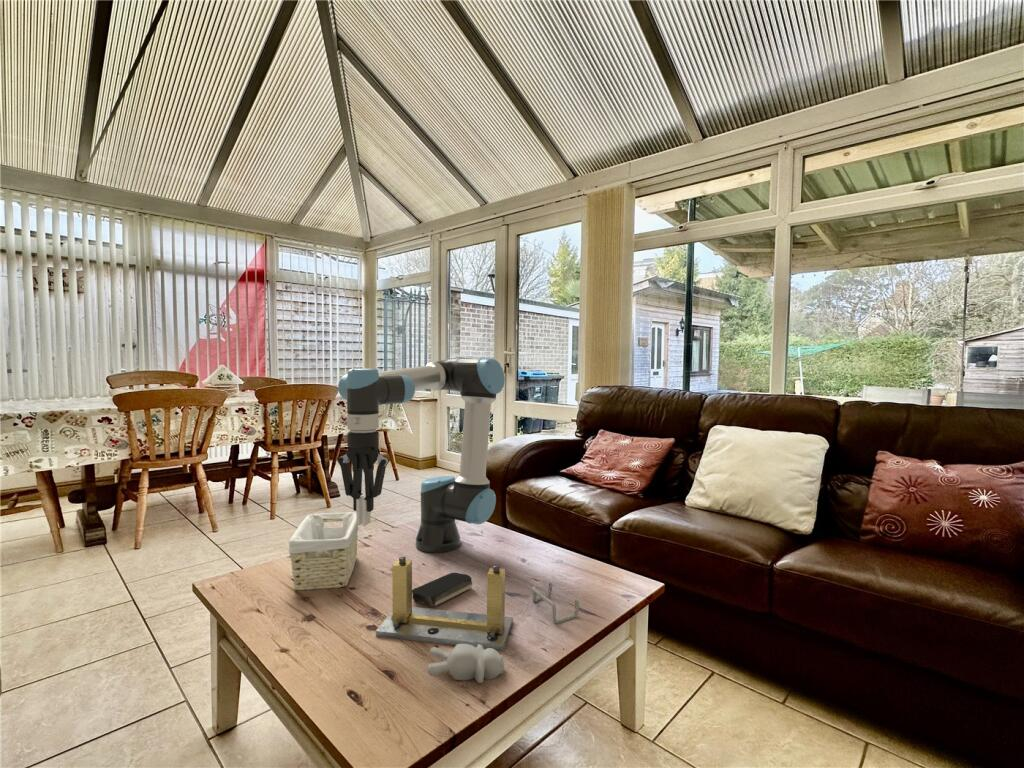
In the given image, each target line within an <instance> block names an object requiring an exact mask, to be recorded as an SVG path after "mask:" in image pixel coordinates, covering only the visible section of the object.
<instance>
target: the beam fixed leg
mask: <svg viewBox="0 0 1024 768" xmlns="http://www.w3.org/2000/svg"><path fill="white" fill-rule="evenodd" d="M505 601H506V568H501V567H500V565H499V564H494V565H492V567H490V568H489V570H488V572H487V574H486V615H487V622H478V621H468V620H459V619H450V618H441V617H431V616H422V615H413V614H409V616H408V622H417V623H426V624H435V625H444V626H453V627H462V628H471V629H480V630H487V632H490V638H494V637H495V635H496V633H500V634H501V633H502V629H503V627H504V625H505V617H506V615H505V612H506V611H505V610H506V606H505V605H506V602H505ZM392 615H393V614H392ZM392 615H391V620H392Z"/></svg>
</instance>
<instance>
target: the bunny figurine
mask: <svg viewBox="0 0 1024 768" xmlns="http://www.w3.org/2000/svg"><path fill="white" fill-rule="evenodd" d="M429 655H430V656H431V657H434V658H439V659H443V660H444V661H438V662H437V661H436V662H431V663H429V664H428V665H427V666H428V667H427V674H428V675H430V676H431V677H432V676H437V675H440V674H443V673H446V672H449V673H450V674H451V676H452V678H453V679H454V680H456V681H470V680H472V679H475V681H476V682H477V683H478V684H483V683H484V679H486V680H494V679H496V678H497V677H498V676H499V675H500V674H501V675H503V674H504V670H505V669H504V668H505V665H504V663H505V662H504V658H503V654H500V653H499V652H498V650H494V649H493V648H487V649H483V646H482V645H480V644H478V646H477V647H474V646H472V645H469V644H457V645H454V648H453V649H452V650H451V652H449V651H447V650H444V649H441V648H439V647H435V646H434V647H431V648H430V650H429Z"/></svg>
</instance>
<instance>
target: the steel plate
mask: <svg viewBox="0 0 1024 768" xmlns="http://www.w3.org/2000/svg"><path fill="white" fill-rule="evenodd" d="M392 614H393V610H391V612H390V613H389V614H388V615H387V617H386V618H385V619H384V620H383V621H382V623H381V624H380V625H379V626H378V628H377V629H376V630H375V637H381V638H391V639H399V640H407V641H414V642H415V641H416V642H425V643H433V644H442V645H447V646H448V645H450V646H456V645H457V644H469V645H472V646H474V647H477V646H478V644H480V645H482V646H483V649H484V650H485V649H487V648H493V649H494V650H496V651H500V652H501V651H502V652H504V650H505V647H506V644H507V641H508V638H509V636H510V633H511V629H512V625H513V623H514V617H511V616H505V625H504V627H503V629H502V633H501V634H500V633H496V635H495V637H494V638H490V632H487V630H480V629H471V628H462V627H453V626H444V625H435V624H426V623H417V622H408V621H407V622H406V623H402V622H401V623H400V625H399V626H398V627H393V623H394V622H393V621H392V620H391V615H392ZM412 614H413V615H422V616H431V617H441V618H450V619H459V620H468V621H478V622H487V614H484V613H474V612H463V611H455V610H445V609H438V608H427V607H417V606H412Z"/></svg>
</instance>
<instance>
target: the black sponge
mask: <svg viewBox="0 0 1024 768" xmlns="http://www.w3.org/2000/svg"><path fill="white" fill-rule="evenodd" d="M472 585H473V581H472V577H471V575H469V574H465V573H459V572H451V573H448V574H445V575H443V576H441V577H439V578H437V579H434V580H432V581H429V582H427V583H425V584H422V585H421V586H417V587H415V588H412V601H414V602H418V603H421V604H424V605H426V606H428V607H429V606H430V607H436V606H438V605H440V604H442V603H444V602H446V601H448V600H450V599H452V598H454V597H455V596H458V595H460V594H462V593H463V592H466V591H468V590H470V589H471V588H472Z"/></svg>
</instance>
